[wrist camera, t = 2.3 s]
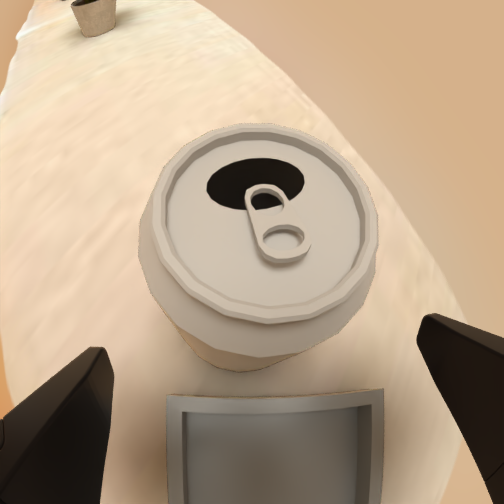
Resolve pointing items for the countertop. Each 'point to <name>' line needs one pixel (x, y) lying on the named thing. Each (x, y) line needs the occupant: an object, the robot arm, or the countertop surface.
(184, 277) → the can
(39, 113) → the countertop surface
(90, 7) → the house plant
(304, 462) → the tray
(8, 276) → the countertop surface
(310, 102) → the countertop surface
